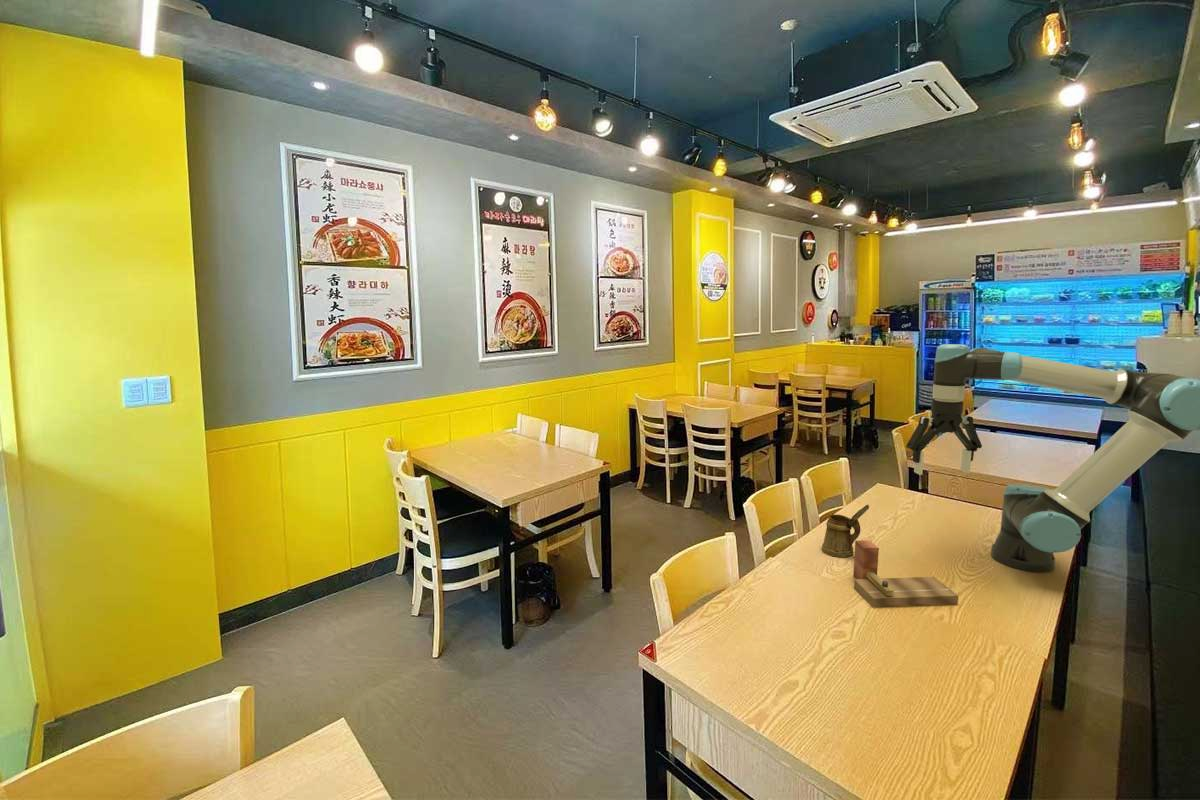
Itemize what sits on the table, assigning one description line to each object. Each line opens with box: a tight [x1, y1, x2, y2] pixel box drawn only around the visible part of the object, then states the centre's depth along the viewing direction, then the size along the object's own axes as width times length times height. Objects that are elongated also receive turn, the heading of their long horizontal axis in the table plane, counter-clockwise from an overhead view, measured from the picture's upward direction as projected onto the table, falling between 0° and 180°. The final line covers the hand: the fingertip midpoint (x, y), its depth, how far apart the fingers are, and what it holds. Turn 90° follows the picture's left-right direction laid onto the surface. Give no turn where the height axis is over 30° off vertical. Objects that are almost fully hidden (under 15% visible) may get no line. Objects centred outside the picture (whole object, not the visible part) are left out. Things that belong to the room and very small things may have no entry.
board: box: [853, 576, 959, 608], centre depth 143 cm, size 22×10×3 cm, turn 91°
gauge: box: [852, 539, 894, 596], centre depth 145 cm, size 4×15×11 cm, turn 1°
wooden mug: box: [821, 504, 870, 558], centre depth 167 cm, size 9×14×18 cm, turn 37°
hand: (941, 472), depth 154 cm, fingers open, 13 cm apart
